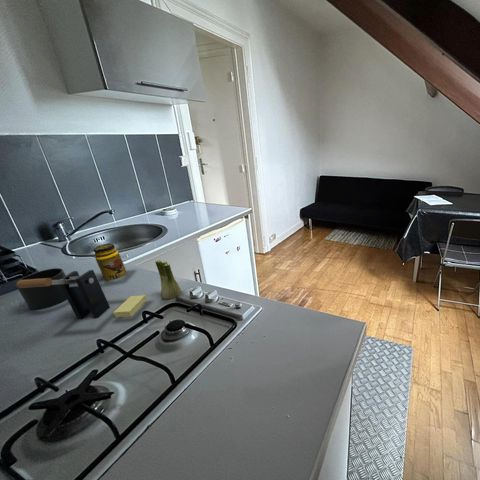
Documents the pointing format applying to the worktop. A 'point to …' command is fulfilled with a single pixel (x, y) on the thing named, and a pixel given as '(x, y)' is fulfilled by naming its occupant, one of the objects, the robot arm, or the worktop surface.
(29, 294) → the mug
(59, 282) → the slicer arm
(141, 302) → the butter
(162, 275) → the fennel bulb
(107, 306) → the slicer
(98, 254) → the condiment
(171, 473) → the worktop surface
